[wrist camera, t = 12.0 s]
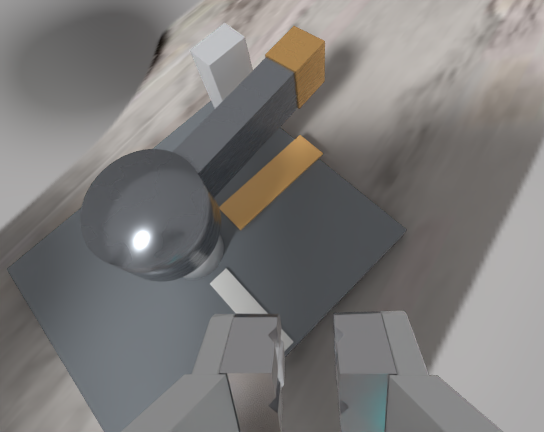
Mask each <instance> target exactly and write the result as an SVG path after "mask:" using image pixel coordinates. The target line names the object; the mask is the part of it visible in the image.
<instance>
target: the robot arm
mask: <svg viewBox="0 0 544 432" xmlns="http://www.w3.org/2000/svg"><path fill="white" fill-rule="evenodd" d="M333 324H334V338H335V341H334V350H335V369H336V382H337V386H338V406H339V416H340V427H341V432H503V431H502V430H501V429H499V428H498V427H497V426H496V425H495V424H494V423H492V422H491V421H490V420H489V419H488V418H487V417H486V416H484V415H483V414H482V413H481V412H480V411H478V410H477V409H476V408H475V407H474V406H473V405H471V404H470V403H469V402H468V401H467V400H466V399H464V398H463V397H462V396H461V395H460V394H459V393H457V392H456V391H455V390H454V389H453V388H451V387H450V386H449V385H448V384H447V383H446V382H444V381H443V380H442V379H441V378H440V377H439V376H437V375H429V373H428V371H427V368H426V365H425V362H424V360H423V357H422V354H421V351H420V349H419V346H418V343H417V340H416V338H415V335H414V332H413V329H412V327H411V324H410V321H409V318H408V316H407V313H406V312H405V311H380V312H344V313H333ZM281 328H282V326H281V320H280V315H279V314H214V315H213V316H212V317H211V319H210V321H209V324H208V327H207V330H206V333H205V336H204V339H203V342H202V345H201V348H200V351H199V353H198V356H197V359H196V362H195V365H194V368H193V371H192V374H184V375H183V376H182V377H181V378H180V379H179V380H178V381H177V382H176V383H174V384H173V385H172V386H171V387H170V388H169V389H168V390H167V391H166V392H164V393H163V394H162V395H161V396H160V397H159V398H158V399H157V400H156V401H154V402H153V403H152V404H151V405H150V406H149V407H148V408H147V409H146V410H144V411H143V412H142V413H141V414H140V415H139V416H138V417H137V418H136V419H135V420H133V421H132V422H131V423H130V424H129V425H128V426H127V427H126V428H125V429H123V430H122V431H121V432H281V425H282V411H283V400H282V392H281V388H282V387H283V386H284V379H285V354H284V343H283V341H282V340H281Z"/></svg>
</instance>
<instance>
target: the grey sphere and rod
mask: <svg viewBox="0 0 544 432" xmlns="http://www.w3.org/2000/svg"><path fill="white" fill-rule="evenodd" d="M265 56H266V58H265V59H264V60H263V61H262V62H261V63H260V64H259V65H258V66H257V67H256V68H255V69H254V70H253V71H252V72H251V73H250V74H249V75H248V76H247V77H246V78H245V79H244V80H243V81H242V82H241V83H240V84H239V85H238V86H237V87H236V88H235V89H234V90H233V91H232V92H231V93H230V94H229V95H228V96H227V97H226V98H225V99H224V100H223V101H222V102H221V103H220V104H219V105H218V106H217V107H216V108H215V109H214V110H213V111H212V112H211V113H210V114H209V115H208V116H207V117H206V118H205V119H204V120H203V121H202V122H201V123H200V124H199V126H198V127H197V128H196V129H195V130H194V131H193V132H192V133H191V134H190V135H189V136H188V137H187V138H186V139H185V140H184V141H183V142H182V143H181V144H180V145H179V146H178V147H177V148H176V149H175V150H174V151H173V152H170V151H167V150H160V149H148V150H141V151H136V152H133V153H130V154H128V155H125V156H123V157H121V158H119V159H118V160H116V161H114V162H113V163H112V164H110V165H109V166H108V167H106V168H105V169H104V170H103V171H102V172H101V173H100V174H99V175H98V176H97V177H96V179H95V180H94V181H93V183H92V184H91V186H90V188H89V189H88V191H87V193H86V195H85V198H84V201H83V204H82V208H81V214H80V226H81V232H82V236H83V238H84V241H85V243H86V244H87V246H88V248H89V249H90V250H91V251H92V253H93V254H94V255H96V256H97V257H98V258H99V259H101V260H103V261H104V262H106V263H108V264H111V265H113V266H115V267H118V268H120V269H122V270H124V271H127V272H129V273H131V274H134V275H136V276H138V277H140V278H143V279H145V280H149V281H156V282H166V281H172V280H176V279H179V278H182V277H184V276H186V275H188V274H190V273H192V272H193V271H195V270H196V269H197V268H199V267H200V266H201V265H202V264H203V263H204V262H205V261H206V260H207V259H208V257H209V256H210V255H211V253H212V252H213V250H214V248H215V246H216V244H217V242H218V239H219V236H220V231H221V213H220V209H219V206H218V204H217V202H216V200H215V197H216V196H217V195H218V194H219V192H220V191H221V190H222V189H223V188H224V187H225V186H226V185H227V184H228V183H229V182H230V181H231V179H232V178H233V177H234V176H235V175H236V174H237V173H238V172H239V171H240V170H241V169H242V167H243V166H244V165H245V164H246V163H247V162H248V161H249V160H250V159H251V158H252V157H253V156H254V154H255V153H256V152H257V151H258V150H259V149H260V148H261V147H262V146H263V145H264V144H265V143H266V141H267V140H268V139H269V138H270V137H271V136H272V135H273V134H274V133H275V132H276V131H277V130H278V128H279V127H280V126H281V125H282V124H283V123H284V122H285V121H286V120H287V119H288V118H289V116H290V115H291V114H292V113H293V112H294V111H295V110H296V109H297V108H299V109H300V108H301V106H302V105H303V104H304V103H305V102H306V101H307V100H308V99H309V98H310V97H311V96H312V94H313V93H314V92H315V91H316V90H317V89H318V88H319V87H320V86H321V85H322V84H323V83H324V76H325V41H324V40H321V39H319V38H317V37H315V36H313V35H311V34H309V33H307V32H305V31H303V30H301V29H299V28H297V27H295V26H293V27H292V28H291V29H290V30H289V31H288V32H287V33H286V34H285V35H284V36H283V37H282V38H281V39H280V40H279V41H278V42H277V43H276V44H275V45H274V46H273V47H272V48H271V49H270V50H269V51H268V52H267V53H266V54H265Z"/></svg>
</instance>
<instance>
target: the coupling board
mask: <svg viewBox="0 0 544 432" xmlns="http://www.w3.org/2000/svg"><path fill="white" fill-rule="evenodd" d="M190 53H191V55H192V57H193V60H194V62H195V64H196V67H197V69H198V71H199V73H200V76H201V78H202V80H203V83H204V85H205V87H206V90H207V92H208V94H209V97H210V99H211V101H210V102H209V103H208V104H206V105H205V106H204V107H203V108H202V109H200V110H199V111H198V112H197V113H195V114H194V115H193V116H192V117H191V118H189V119H188V120H187V121H186V122H185V123H183V124H182V125H181V126H180V127H178V128H177V129H176V130H175V131H174V132H172V133H171V134H170V135H169V136H168V137H166V138H165V139H164V140H163V141H162V142H160V143H159V144H158V145H157V146H155V147H154V148H153V149H160V150H167V151H170V152H173V151H174V150H175V149H176V148H177V147H178V146H179V145H180V144H181V143H182V142H183V141H184V140H185V139H186V138H187V137H188V136H189V135H190V134H191V133H192V132H193V131H194V130H195V129H196V128H197V127H198V126H199V124H200V123H201V122H202V121H203V120H204V119H205V118H206V117H207V116H208V115H209V114H210V113H211V112H212V111H213V110H214V109H215V108H216V107H217V106H218V105H219V104H220V103H221V102H222V101H223V100H224V99H225V98H226V97H227V96H228V95H229V94H230V93H231V92H232V91H233V90H234V89H235V88H236V87H237V86H238V85H239V84H240V83H241V82H242V81H243V80H244V79H245V78H246V77H247V76H248V75H249V74H250V73H251V72H252V71H253V69H252V65H251V61H250V56H249V52H248V48H247V44H246V40H245V37H244V36H243V35H241V34H240V33H238V32H237V31H236V30H234V29H233V28H231V27H230V26H229V25H227V24H226V23H224V24H223V25H221V26H220V27H219V28H217V29H216V30H215V31H214V32H212V33H211V34H210V35H208V36H207V37H206V38H205V39H203V40H202V41H201V42H199V43H198V44H197V45H196V46H194V47H193V48H192V49H191V50H190ZM322 155H323V153H322V152H321V151H320V150H318V149H317V148H316V147H315V146H313V145H312V144H311V143H310V142H308V141H307V140H306V139H305V138H303V137H302V136H301V135H299V136H298V137H297V138H296V139H294V138H293V137H291V136H290V135H289V134H288V133H286V132H285V131H284V130H283V129H281V128H280V127H279V128H278V130H277V131H276V132H275V133H274V134H273V135H272V136H271V137H270V138H269V139H268V140H267V141H266V143H265V144H264V145H263V146H262V147H261V148H260V149H259V150H258V151H257V152H256V153H255V154H254V156H253V157H252V158H251V159H250V160H249V161H248V162H247V163H246V164H245V165H244V166H243V167H242V169H241V170H240V171H239V172H238V173H237V174H236V175H235V176H234V177H233V178H232V179H231V181H230V182H229V183H228V184H227V185H226V186H225V187H224V188H223V189H222V190H221V191H220V192H219V194H218V195H217V196H216V197H215V200H216V202H217V204H218V206H219V209H220V213H221V231H220V236H219V239H218V242H217V244H216V246H215V248H214V250H213V252H212V253H211V255H210V256H209V257H208V259H207V260H206V261H205V262H204V263H203V264H202V265H201V266H200V267H199V268H197V269H196V270H195V271H193V272H192V273H190V274H188V275H186V276H184V277H182V278H179V279H176V280H172V281H166V282H156V281H149V280H145V279H143V278H140V277H138V276H136V275H134V274H131V273H129V272H127V271H124V270H122V269H120V268H118V267H115V266H113V265H111V264H108V263H106V262H104V261H103V260H101V259H99V258H98V257H97V256H96V255H94V254H93V253H92V251H91V250H90V249H89V248H88V246H87V244H86V243H85V241H84V238H83V236H82V232H81V226H80V214H81V208H82V207H81V208H80V209H79V210H78V211H77V212H75V213H74V214H73V215H72V216H70V217H69V218H68V219H67V220H66V221H64V222H63V223H62V224H61V225H60V226H58V227H57V228H56V229H55V230H53V231H52V232H51V233H50V234H49V235H47V236H46V237H45V238H44V239H43V240H41V241H40V242H39V243H38V244H36V245H35V246H34V247H33V248H32V249H30V250H29V251H28V252H27V253H26V254H24V255H23V256H22V257H21V258H19V259H18V260H17V261H16V262H15V263H13V264H12V265H11V266H10V267H9V268H7V270H8V272H9V274H10V275H11V277H12V279H13V280H14V282H15V284H16V285H17V287H18V289H19V290H20V292H21V294H22V295H23V297H24V299H25V300H26V302H27V304H28V305H29V307H30V309H31V310H32V312H33V314H34V315H35V317H36V319H37V321H38V322H39V324H40V326H41V327H42V329H43V331H44V332H45V334H46V336H47V337H48V339H49V341H50V342H51V344H52V346H53V347H54V349H55V351H56V352H57V354H58V356H59V357H60V359H61V361H62V362H63V364H64V366H65V367H66V369H67V371H68V372H69V374H70V376H71V377H72V379H73V381H74V382H75V384H76V386H77V387H78V389H79V391H80V392H81V394H82V396H83V397H84V399H85V401H86V402H87V404H88V406H89V407H90V409H91V411H92V412H93V414H94V416H95V417H96V419H97V421H98V422H99V424H100V426H101V427H102V429H103V431H104V432H121V431H122V430H123V429H125V428H126V427H127V426H128V425H129V424H130V423H131V422H132V421H133V420H135V419H136V418H137V417H138V416H139V415H140V414H141V413H142V412H143V411H144V410H146V409H147V408H148V407H149V406H150V405H151V404H152V403H153V402H154V401H156V400H157V399H158V398H159V397H160V396H161V395H162V394H163V393H164V392H166V391H167V390H168V389H169V388H170V387H171V386H172V385H173V384H174V383H176V382H177V381H178V380H179V379H180V378H181V377H182V376H183V375H184V374H192V371H193V368H194V365H195V362H196V359H197V356H198V353H199V351H200V348H201V345H202V342H203V339H204V336H205V333H206V330H207V327H208V324H209V321H210V319H211V317H212V316H213V315H214V314H279V315H280V320H281V326H282V328H281V340H282V341H283V343H284V354H285V357H286V356H287V355H288V354H289V353H290V352H291V351H292V350H293V348H294V347H295V346H296V345H297V344H298V343H299V342H300V341H301V340H302V339H303V338H304V337H305V336H306V335H307V334H308V333H309V332H310V331H311V330H312V329H313V328H314V327H315V326H316V325H317V324H318V323H319V322H320V321H321V320H322V319H323V317H324V316H325V315H326V314H327V313H328V312H329V311H330V310H331V309H332V308H333V307H334V306H335V305H336V304H337V303H338V302H339V301H340V300H341V299H342V298H343V297H344V296H345V295H346V294H347V293H348V292H349V291H350V290H351V289H352V288H353V287H354V285H355V284H356V283H357V282H358V281H359V280H360V279H361V278H362V277H363V276H364V275H365V274H366V273H367V272H368V271H369V270H370V269H371V268H372V267H373V266H374V265H375V264H376V263H377V262H378V261H379V260H380V259H381V258H382V257H383V256H384V254H385V253H386V252H387V251H388V250H389V249H390V248H391V247H392V246H393V245H394V244H395V243H396V242H397V241H398V240H399V239H400V238H401V237H402V236H403V235H404V233H405V232H406V230H407V229H405V228H404V227H403V226H402V225H401V224H399V223H398V222H397V221H396V220H394V219H393V218H392V217H391V216H389V215H388V214H387V213H386V212H384V211H383V210H382V209H381V208H379V207H378V206H377V205H376V204H374V203H373V202H372V201H371V200H369V199H368V198H367V197H366V196H365V195H363V194H362V193H361V192H360V191H358V190H357V189H356V188H355V187H353V186H352V185H351V184H350V183H348V182H347V181H346V180H345V179H343V178H342V177H341V176H340V175H338V174H337V173H336V172H335V171H334V170H332V169H331V168H330V167H329V166H327V165H326V164H325V163H324V162H322V161H321V160H320V159H319V158H320V157H321V156H322Z"/></svg>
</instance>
